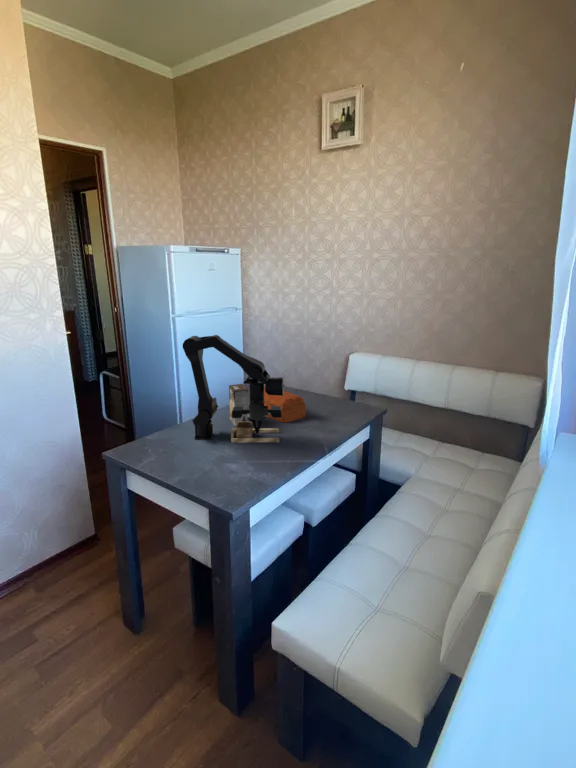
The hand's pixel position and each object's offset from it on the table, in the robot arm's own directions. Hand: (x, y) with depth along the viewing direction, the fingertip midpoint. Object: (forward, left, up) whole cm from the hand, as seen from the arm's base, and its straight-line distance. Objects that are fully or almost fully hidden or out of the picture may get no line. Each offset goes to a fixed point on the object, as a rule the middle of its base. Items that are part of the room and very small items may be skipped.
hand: (257, 432), depth 164 cm
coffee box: (-8, +17, -3) cm, 19 cm away
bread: (+8, +29, -3) cm, 30 cm away
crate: (-5, 0, -2) cm, 5 cm away
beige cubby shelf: (0, 0, -2) cm, 3 cm away
